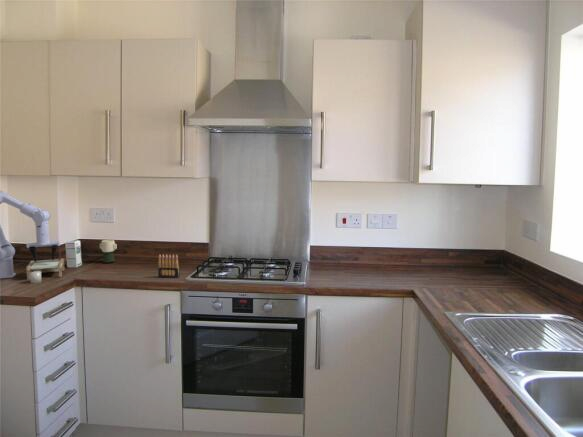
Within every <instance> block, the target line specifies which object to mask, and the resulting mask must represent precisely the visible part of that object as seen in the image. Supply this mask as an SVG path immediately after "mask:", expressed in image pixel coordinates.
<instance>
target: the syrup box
mask: <svg viewBox="0 0 583 437" xmlns="http://www.w3.org/2000/svg"><path fill="white" fill-rule="evenodd" d="M64 244H65V258H66V267H67V268H79V267H80V266H82V265H83V261H82V260H83V259H82V258H83V257H82V245H81V240H78V239H75V240H73V239H72V240H69V241H66V242H65V243H64Z"/></svg>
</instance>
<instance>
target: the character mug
mask: <svg viewBox="0 0 583 437" xmlns="http://www.w3.org/2000/svg"><path fill="white" fill-rule="evenodd" d="M117 246H118V245H117V243H116V242H115V239H105V240H101V243H99V249H101V252H102V253H103V257H102V258H103V259H102V262H103V263H106V264H107V263H112V262H115V261H116V259H115V255H114V254H115V253H113V252H115V250H117V248H118V247H117Z"/></svg>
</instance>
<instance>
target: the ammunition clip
mask: <svg viewBox="0 0 583 437" xmlns="http://www.w3.org/2000/svg"><path fill="white" fill-rule="evenodd" d="M179 264H180V263H179V256H178V254H173V253H172V255H171V254H169V255H168V254H167V253H166V254H165V255H164V253H162V255H161V253H160V254H159V255H158V278H163V279H164V278H166V279H167V278H169V279H179V278H180V277H181V275H180V267H179Z"/></svg>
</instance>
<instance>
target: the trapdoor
mask: <svg viewBox="0 0 583 437" xmlns="http://www.w3.org/2000/svg"><path fill="white" fill-rule="evenodd" d="M59 262H60V259H59V258H56V259H55V258H54V260H52V259H42V260H39V259H38V260H37V261H36V262H35V261H34V264H33V265H32V266H31V267H30V268H31V269H30V270H32V269H43V268H55V267H58V264H59Z"/></svg>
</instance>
